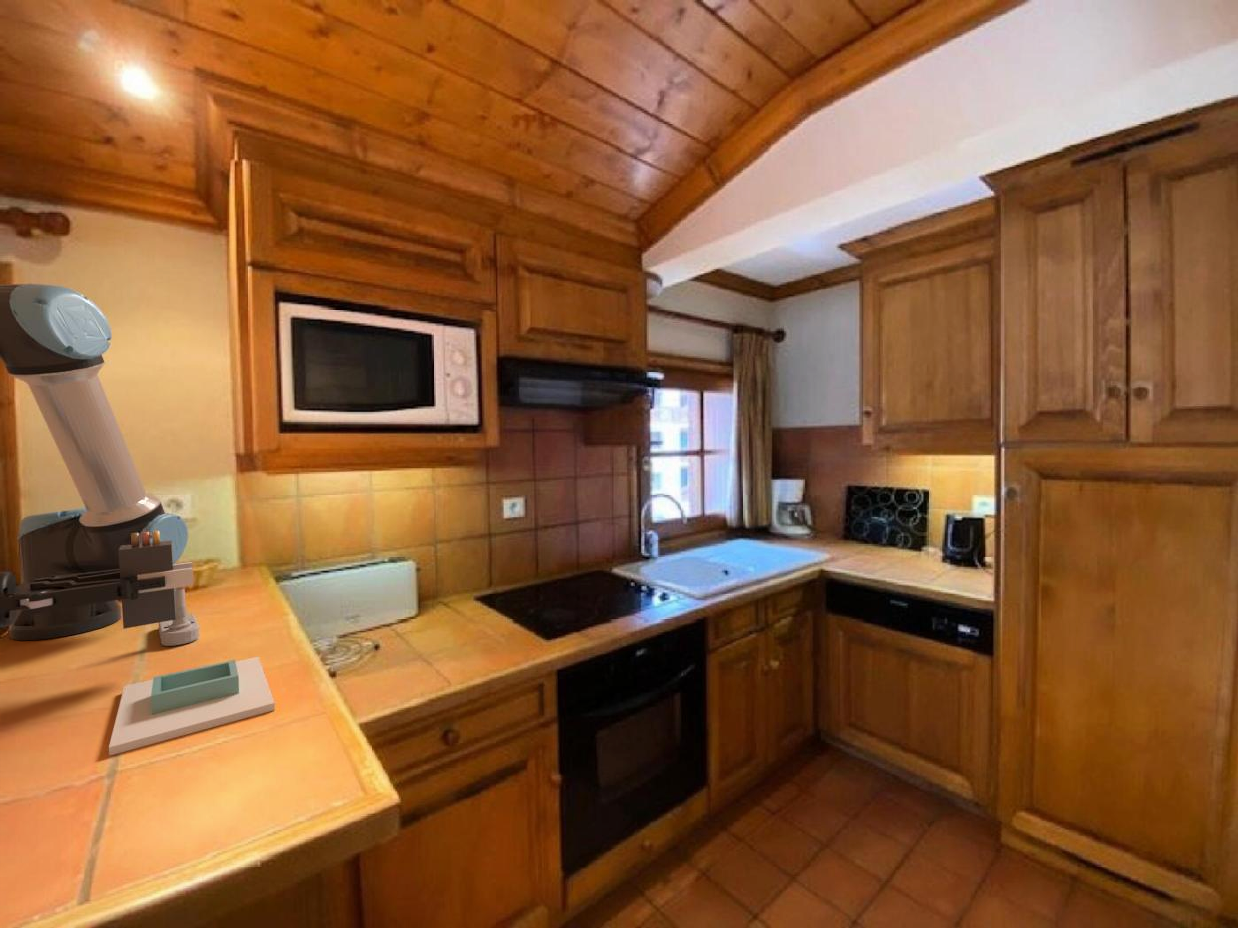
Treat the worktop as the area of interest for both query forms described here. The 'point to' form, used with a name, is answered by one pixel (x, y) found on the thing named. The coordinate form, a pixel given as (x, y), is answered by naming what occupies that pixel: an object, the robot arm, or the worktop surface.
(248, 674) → the header board
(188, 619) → the electronic device
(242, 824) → the worktop surface
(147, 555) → the block
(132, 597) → the robot arm
